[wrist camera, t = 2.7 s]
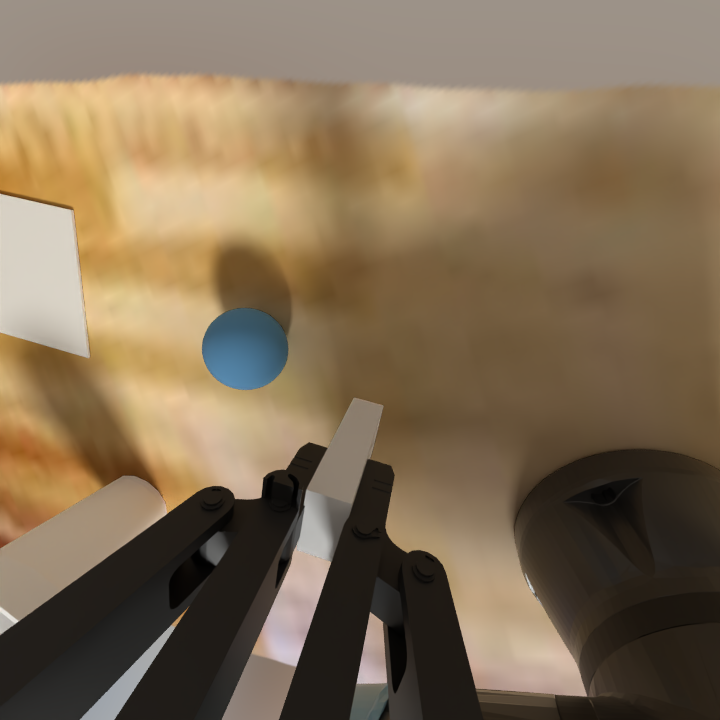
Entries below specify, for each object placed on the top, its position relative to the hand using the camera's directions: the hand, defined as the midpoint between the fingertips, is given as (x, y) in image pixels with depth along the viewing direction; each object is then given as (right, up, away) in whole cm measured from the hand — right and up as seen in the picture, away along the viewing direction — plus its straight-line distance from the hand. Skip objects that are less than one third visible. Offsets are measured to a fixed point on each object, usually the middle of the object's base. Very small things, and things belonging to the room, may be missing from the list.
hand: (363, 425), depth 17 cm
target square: (-28, +10, +12) cm, 32 cm away
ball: (-8, +4, +6) cm, 11 cm away
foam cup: (-23, -11, +19) cm, 31 cm away
